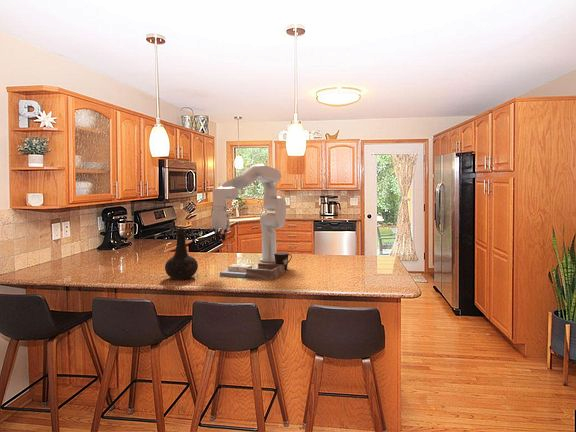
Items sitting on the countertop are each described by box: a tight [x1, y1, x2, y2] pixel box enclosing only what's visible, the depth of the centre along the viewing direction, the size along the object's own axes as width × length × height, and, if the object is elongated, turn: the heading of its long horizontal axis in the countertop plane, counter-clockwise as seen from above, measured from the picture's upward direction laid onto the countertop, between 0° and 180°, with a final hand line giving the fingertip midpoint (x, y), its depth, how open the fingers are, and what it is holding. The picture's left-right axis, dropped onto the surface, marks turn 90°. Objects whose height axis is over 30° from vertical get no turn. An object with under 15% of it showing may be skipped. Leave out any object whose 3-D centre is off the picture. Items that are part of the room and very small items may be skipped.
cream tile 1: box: [227, 263, 242, 271], centre depth 264 cm, size 6×6×2 cm
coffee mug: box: [274, 251, 293, 272], centre depth 271 cm, size 12×9×10 cm
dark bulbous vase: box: [164, 227, 199, 280], centre depth 252 cm, size 18×18×28 cm
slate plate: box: [219, 266, 258, 279], centre depth 263 cm, size 18×16×2 cm
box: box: [245, 262, 285, 281], centre depth 257 cm, size 17×16×5 cm
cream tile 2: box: [238, 264, 253, 272], centre depth 261 cm, size 6×6×2 cm
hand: (220, 239), depth 265 cm, fingers open, 3 cm apart
